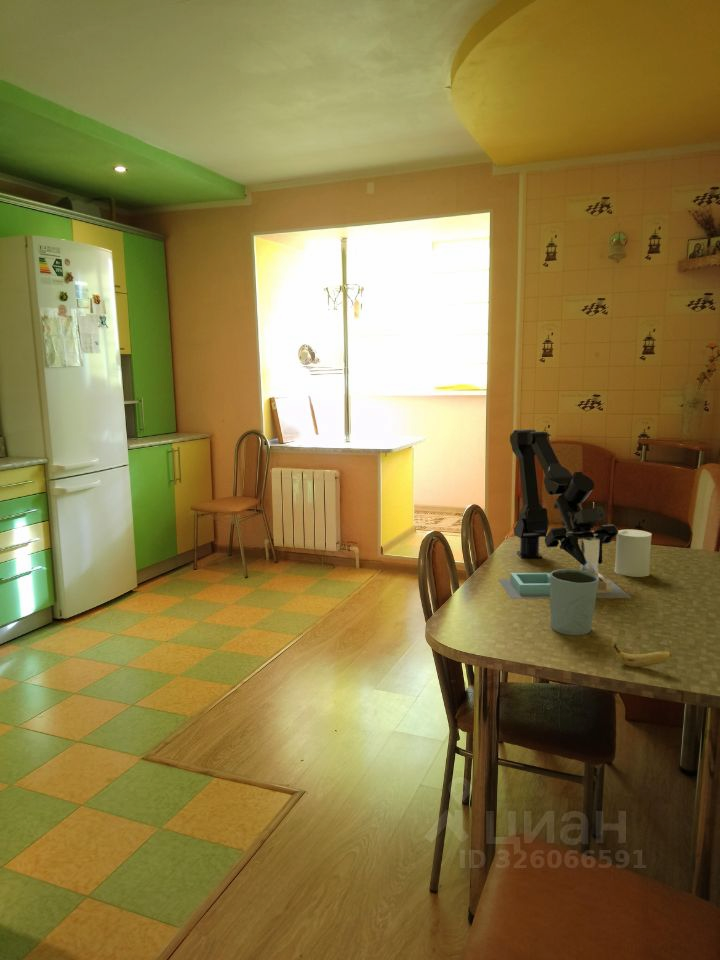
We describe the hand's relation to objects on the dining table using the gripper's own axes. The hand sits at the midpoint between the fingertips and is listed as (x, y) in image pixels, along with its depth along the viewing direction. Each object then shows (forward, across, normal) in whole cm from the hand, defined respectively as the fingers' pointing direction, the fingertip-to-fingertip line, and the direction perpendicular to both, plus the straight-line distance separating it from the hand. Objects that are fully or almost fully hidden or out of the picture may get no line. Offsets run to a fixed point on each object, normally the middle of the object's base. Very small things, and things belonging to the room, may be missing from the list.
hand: (592, 563), depth 170 cm
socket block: (+4, 0, +6) cm, 7 cm away
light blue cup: (+21, -18, -11) cm, 30 cm away
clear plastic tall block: (+4, 0, +6) cm, 7 cm away
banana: (+36, -16, -26) cm, 47 cm away
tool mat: (+3, -7, +7) cm, 10 cm away
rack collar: (+2, -14, +8) cm, 16 cm away
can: (-3, +20, +13) cm, 24 cm away
